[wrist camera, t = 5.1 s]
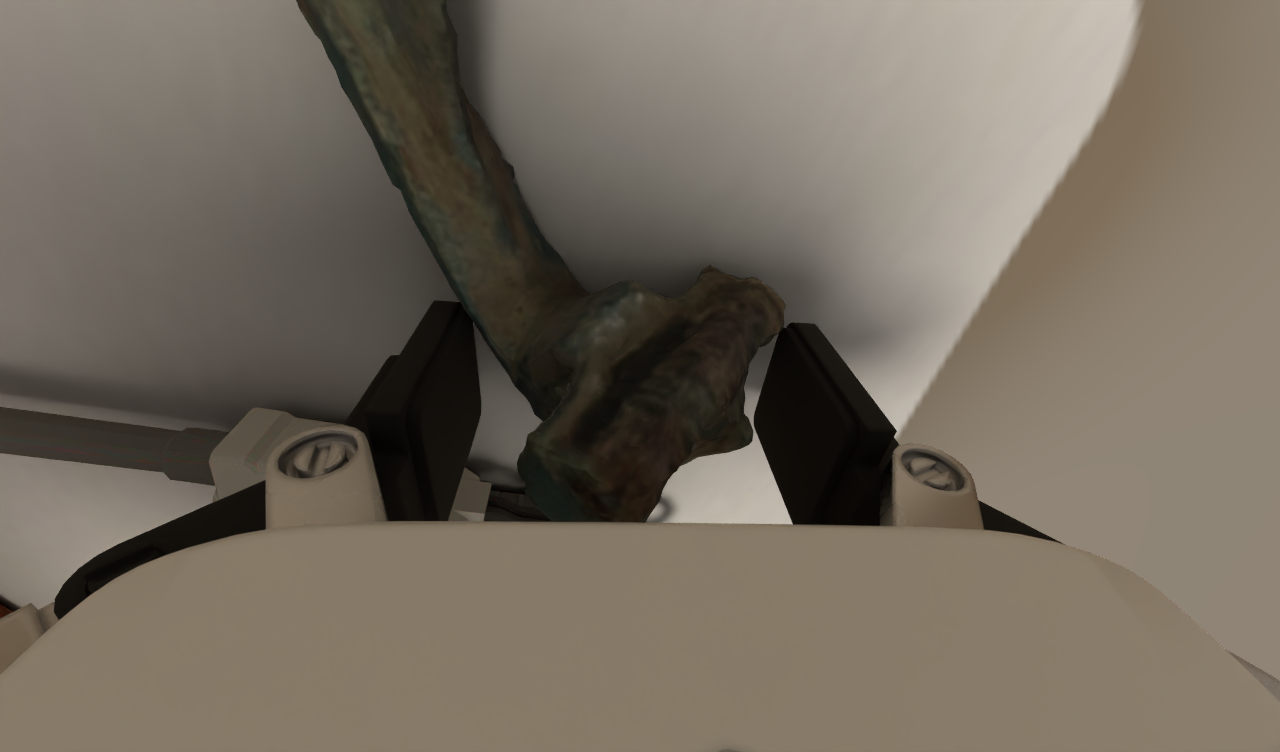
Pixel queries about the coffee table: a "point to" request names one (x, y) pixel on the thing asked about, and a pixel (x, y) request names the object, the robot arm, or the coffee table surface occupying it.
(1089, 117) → the coffee table surface
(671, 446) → the decorative handle
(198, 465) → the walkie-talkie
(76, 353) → the coffee table surface
